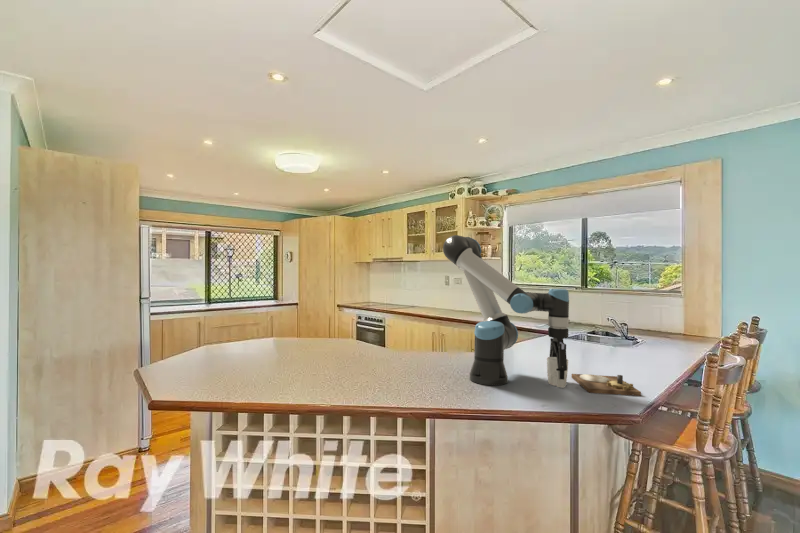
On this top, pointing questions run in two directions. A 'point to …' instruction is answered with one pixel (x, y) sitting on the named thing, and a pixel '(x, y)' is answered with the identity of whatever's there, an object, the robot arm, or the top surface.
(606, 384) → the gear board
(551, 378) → the white cup
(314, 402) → the top surface
